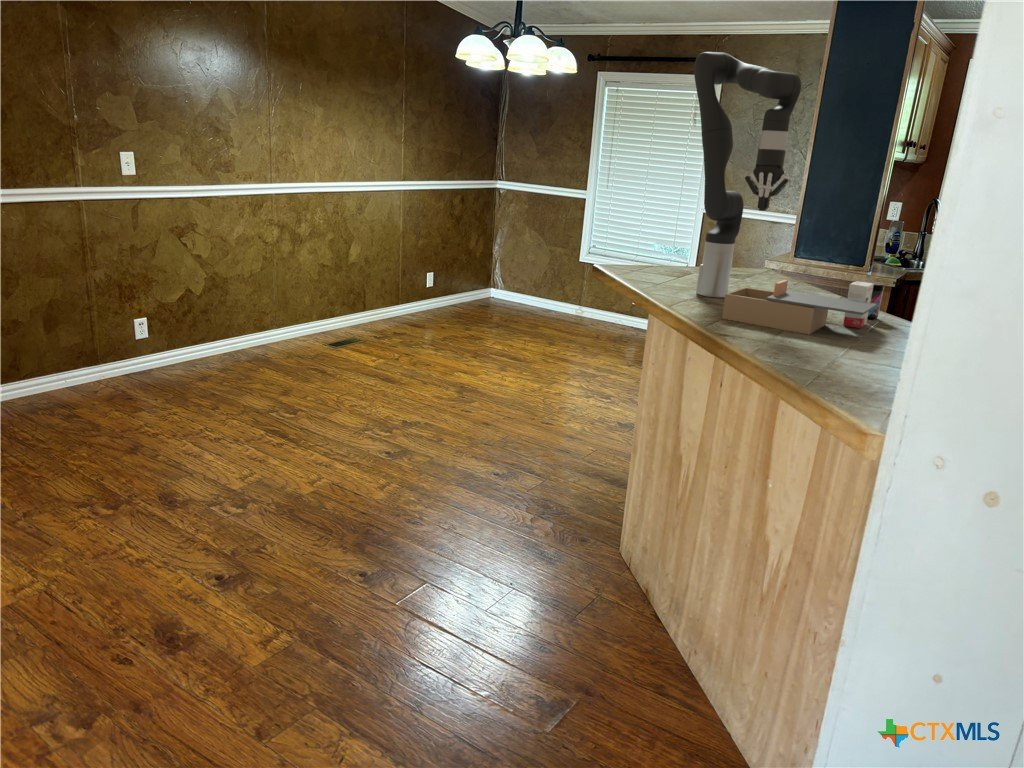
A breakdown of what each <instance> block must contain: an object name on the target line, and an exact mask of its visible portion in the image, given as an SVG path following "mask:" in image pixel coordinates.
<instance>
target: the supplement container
mask: <svg viewBox="0 0 1024 768" xmlns="http://www.w3.org/2000/svg"><path fill="white" fill-rule="evenodd" d="M859 282H867V283H874V286H873V291H872V296H871V302H870V303H874V304H877V306H876V307H875V308H873V309H871V310H870V311H869V312H868V318H867V321H874V319H875V320H877V319H878V317H879V313H880V308H881V304H882V298H883V295H884V291H885V283H883V282H878V281H871V280H860V281H859Z"/></svg>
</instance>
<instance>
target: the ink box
mask: <svg viewBox="0 0 1024 768" xmlns="http://www.w3.org/2000/svg"><path fill="white" fill-rule="evenodd" d="M873 286H874V283H867V282H860V281H854V282H851V283H850V284H849V286H848V292H847V293H848V294H847V298H846V299H847V300H854V301H861V302H867V303H870V302H871V296H872V291H873ZM868 312H869V311H868ZM868 312H867V313H865V314H864V315H859V314H853V313H847V312H844V315H843V316H844V317H843V323H842V326H843V327H850V328H858V329H861V328H862V327H864V326H865V325H866V324H867V323H868V320H867V318H868Z"/></svg>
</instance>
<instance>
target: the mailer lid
mask: <svg viewBox="0 0 1024 768" xmlns="http://www.w3.org/2000/svg"><path fill="white" fill-rule="evenodd" d="M788 284H789V280H787V279H783V280H780V281H777V282H775V284H774V290H773V292H774V295H771V296H769V297H766V300H772V301H778V302H784V303H791V304H797V305H803V306H809V307H816V308H822V309H828V311H833V312H834V311H835V312H841V313H845V312H847V313H853V314H859V315H864V314H865V313H867V312H868V311H870V310H871V309H873V308H875V307H876V306H877V304H874V303H867V302H861V301H854V300H847V298H839V297H832V296H826V295H820V294H814V293H813V294H812V293H805V292H801V291H792V290H787V288H788Z"/></svg>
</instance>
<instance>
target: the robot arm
mask: <svg viewBox="0 0 1024 768" xmlns="http://www.w3.org/2000/svg"><path fill="white" fill-rule="evenodd" d="M694 62H695V63H694V69H693V75H694V80H695V81H694V82H695V89H696V94H697V99H698V105H699V114H700V124H701V126H700V127H701V141H702V142H701V144H702V152H703V153H702V154H703V166H704V167H703V168H704V169H703V170H704V194H703V196H704V198H703V199H704V200H703V206H704V210H705V211H704V212H705V214H706V216H707V218H709V219H710V220H712V221H715V222H716V223H715V225H714V227H712V228H711V229H710V230H709V231H707V232H706V234H705V241H704V247H703V257H702V264H700V265H699V267H698V276H697V284H696V293H695V294H696V295H701V296H704V297H709V298H725V294H727V293H729V286H730V279H731V272H732V265H733V259H734V258H733V257H734V251H735V244H736V239H737V237H738V235H739V233H740V229H741V225H742V218H743V214H744V199H743V197H742V195H741V194H740V193H739V192H738V191H736V190H726V180H725V179H726V177H725V175H726V169H727V165H728V163H729V160H730V158H731V155H732V152H733V148H734V138H733V128H732V127H733V126H732V122H731V120H730V118H729V115H728V114H727V112H726V111H725V109H724V107H722V105H721V103H720V101H719V99H718V96H717V93H716V87H715V85H716V86H717V85H723V84H735V85H736V84H737V85H738V87H740V88H741V89H743V90H744V91H747V92H751V93H754V94H758V95H759V96H761V97H764V98H767V99H770V100H778V101H777V103H776V105H775V107H774V108H773V107H772V108H769V109H767V110H766V111H765V112H764V114H763V121H762V126H761V128H762V129H761V133H760V137H759V142H758V147H757V148H758V149H757V154H756V162H755V167H754V168H753V172H751V174H749V175H746V176H745V177H744V180H745V181H746V183H747V185H748V186H749V188H750V190H751V192H752V194H753V195H755V196H757V197H758V201H757V209H758V211H763V212H766V211H767V210H768V209H769V207H770V201H771V198H772V197H775V196H778V195H779V194H780V193H781V192H782V191H783V190H784V189H785V188H786V186H787V185H788V184H789V183H791V179H790V178H788V177H787V176H786V175H785V171H784V163H785V158H786V151H787V147H788V139H789V137H788V136H789V135H788V134H789V127H790V120H791V115H792V113H793V111H794V109H795V107H796V103H797V102H798V100H799V98H800V97H799V96H800V94H801V92H802V91H801V90H802V81H801V77H800V76H799V75H798V74H796V73H794V72H784V71H777V70H772V69H770V68H768V67H764V66H759V65H755V64H751V63H746V62H744V61H741V60H739V59H738V58H736V57H734V56H732V55H731V54H728V53H727V52H719V51H718V52H715V51H704V52H701V53H699V54H698V55H697V57H696V59H695V61H694ZM755 181H757V184H758V185H757V184H756V182H755ZM778 182H779V184H778V185H777V186H776V187H775V185H776V184H777V183H778ZM774 187H775V188H774Z"/></svg>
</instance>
